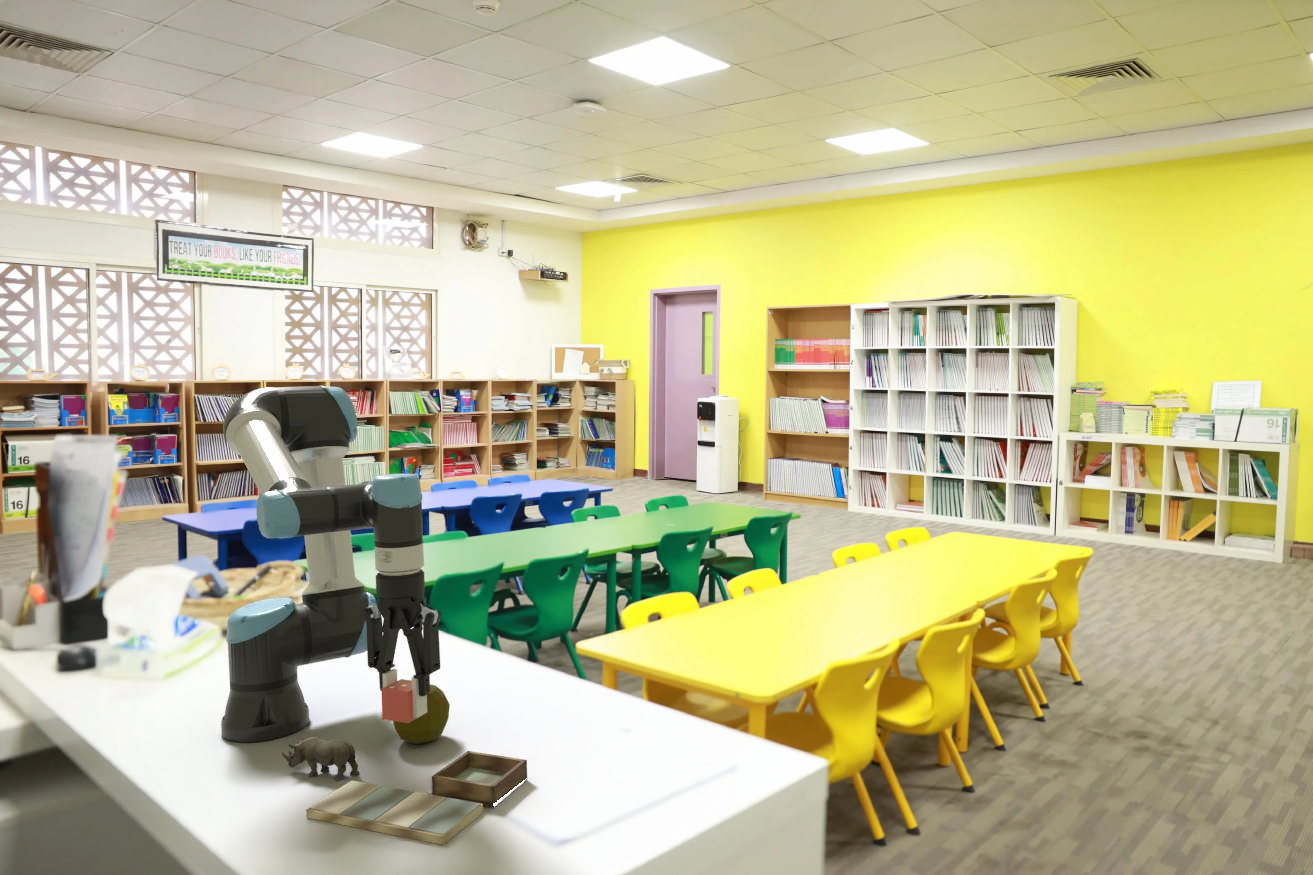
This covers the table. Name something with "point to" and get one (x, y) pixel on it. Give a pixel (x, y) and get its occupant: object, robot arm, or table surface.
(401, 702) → the die
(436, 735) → the apple
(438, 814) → the board
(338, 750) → the rhino figurine
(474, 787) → the dice tray
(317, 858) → the table surface
